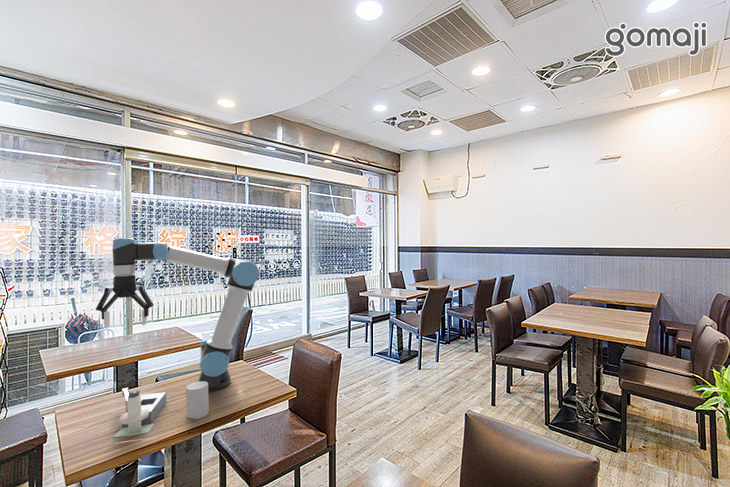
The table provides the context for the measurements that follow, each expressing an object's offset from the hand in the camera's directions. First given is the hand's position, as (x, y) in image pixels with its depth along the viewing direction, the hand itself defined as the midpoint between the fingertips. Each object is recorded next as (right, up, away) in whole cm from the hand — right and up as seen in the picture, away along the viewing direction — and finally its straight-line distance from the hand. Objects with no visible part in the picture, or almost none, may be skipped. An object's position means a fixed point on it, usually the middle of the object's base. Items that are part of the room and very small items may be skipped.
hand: (125, 325), depth 140 cm
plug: (+13, -36, -14) cm, 41 cm away
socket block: (+9, -37, -1) cm, 38 cm away
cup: (+31, -36, -1) cm, 48 cm away
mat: (+13, -37, -14) cm, 41 cm away
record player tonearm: (+3, -32, -3) cm, 32 cm away
